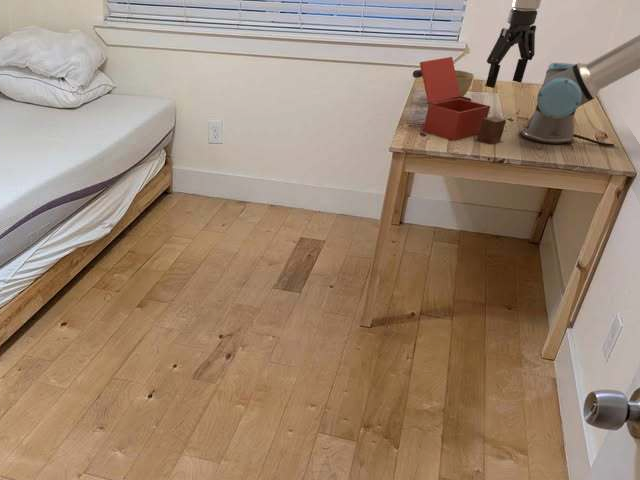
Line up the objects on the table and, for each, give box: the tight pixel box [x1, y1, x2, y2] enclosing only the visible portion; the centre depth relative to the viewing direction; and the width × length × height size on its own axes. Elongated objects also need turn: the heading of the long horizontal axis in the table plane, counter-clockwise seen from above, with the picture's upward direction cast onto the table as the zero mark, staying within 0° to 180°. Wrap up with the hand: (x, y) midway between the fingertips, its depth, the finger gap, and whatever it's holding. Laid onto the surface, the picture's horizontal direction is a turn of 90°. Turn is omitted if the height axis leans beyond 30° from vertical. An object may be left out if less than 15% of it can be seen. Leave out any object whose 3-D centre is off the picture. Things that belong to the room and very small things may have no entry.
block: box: [477, 115, 507, 145], centre depth 222 cm, size 5×5×7 cm
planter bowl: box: [432, 69, 475, 104], centre depth 260 cm, size 16×16×11 cm
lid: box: [412, 56, 460, 104], centre depth 234 cm, size 14×16×8 cm
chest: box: [422, 98, 491, 141], centre depth 230 cm, size 13×16×9 cm
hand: (503, 84), depth 214 cm, fingers open, 13 cm apart
